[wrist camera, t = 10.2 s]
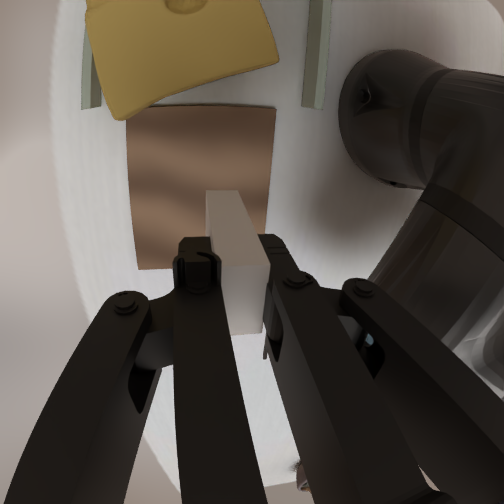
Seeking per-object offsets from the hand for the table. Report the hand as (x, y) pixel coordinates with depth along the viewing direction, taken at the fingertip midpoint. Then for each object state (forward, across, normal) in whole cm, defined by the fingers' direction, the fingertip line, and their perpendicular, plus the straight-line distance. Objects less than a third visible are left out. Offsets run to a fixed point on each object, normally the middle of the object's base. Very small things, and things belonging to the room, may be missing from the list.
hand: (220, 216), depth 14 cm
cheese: (+14, -3, +11) cm, 18 cm away
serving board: (+13, -1, -3) cm, 14 cm away
